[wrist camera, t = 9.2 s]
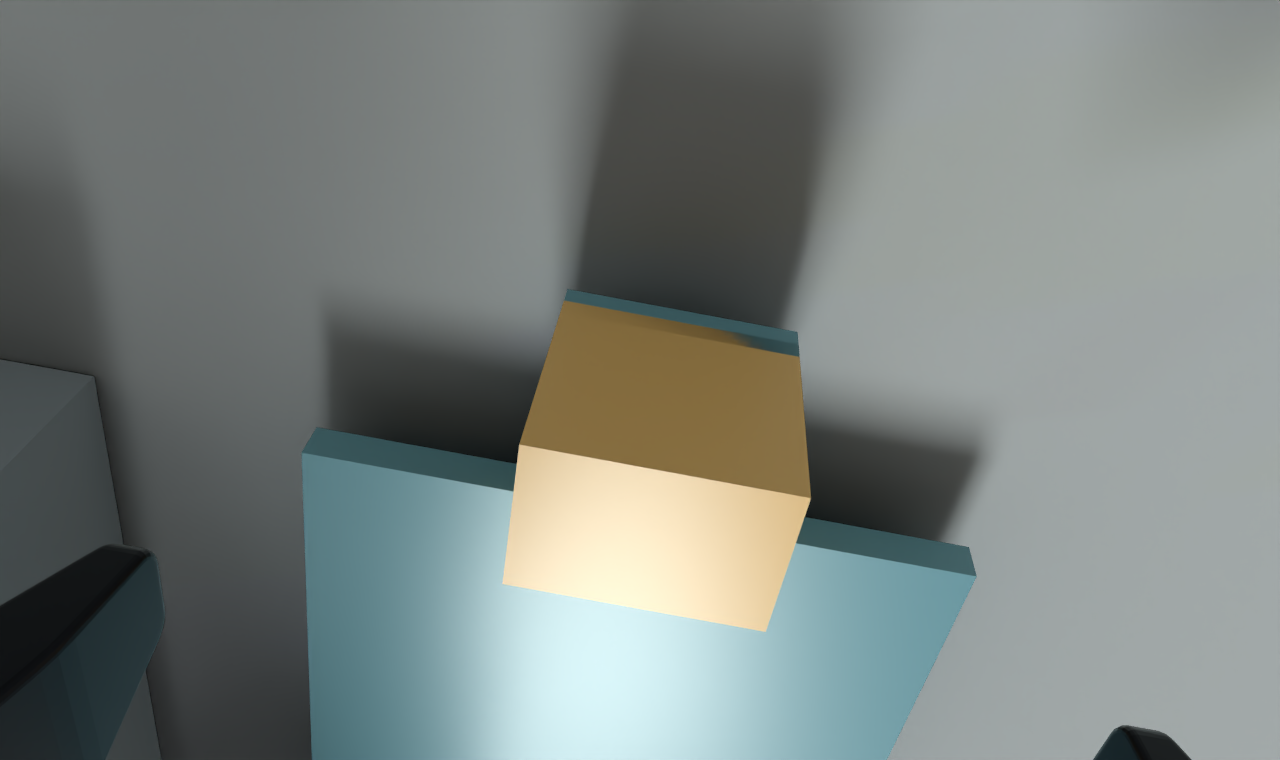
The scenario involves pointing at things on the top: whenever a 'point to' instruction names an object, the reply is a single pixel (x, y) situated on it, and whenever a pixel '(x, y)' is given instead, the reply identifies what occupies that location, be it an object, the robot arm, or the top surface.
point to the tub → (59, 501)
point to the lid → (616, 570)
